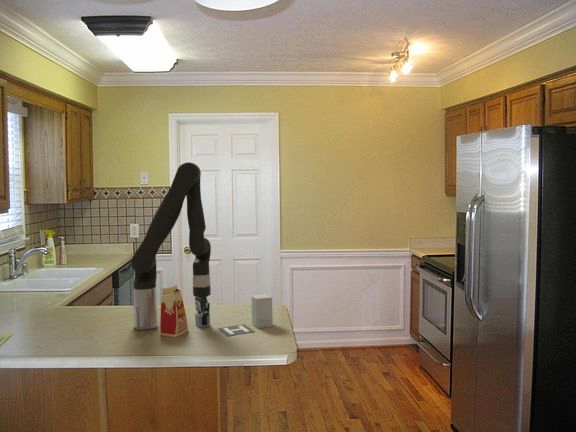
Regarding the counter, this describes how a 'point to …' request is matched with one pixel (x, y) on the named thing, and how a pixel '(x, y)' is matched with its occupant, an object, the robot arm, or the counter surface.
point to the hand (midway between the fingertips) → (202, 323)
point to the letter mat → (236, 330)
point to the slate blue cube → (199, 320)
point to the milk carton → (172, 313)
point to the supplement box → (262, 311)
